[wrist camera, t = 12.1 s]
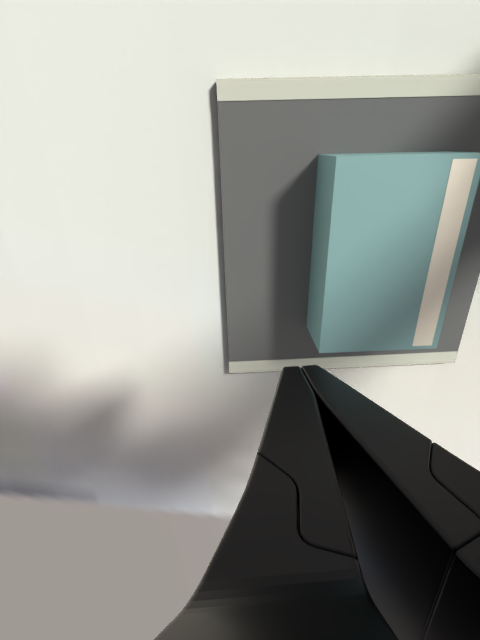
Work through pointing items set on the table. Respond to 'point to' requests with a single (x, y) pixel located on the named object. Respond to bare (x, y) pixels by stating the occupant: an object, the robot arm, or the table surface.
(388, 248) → the block
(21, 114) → the table surface
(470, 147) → the mat
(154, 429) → the table surface
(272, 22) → the table surface
